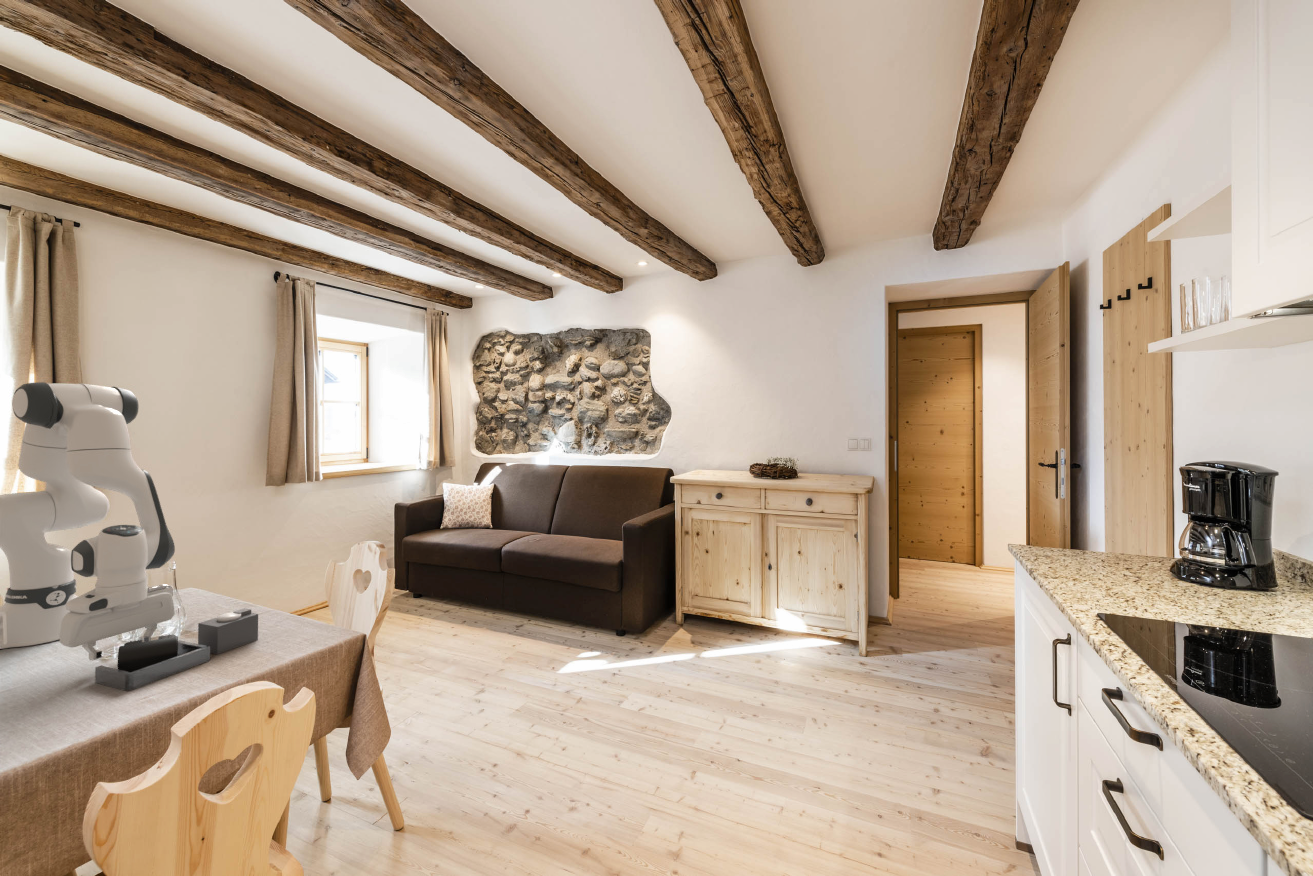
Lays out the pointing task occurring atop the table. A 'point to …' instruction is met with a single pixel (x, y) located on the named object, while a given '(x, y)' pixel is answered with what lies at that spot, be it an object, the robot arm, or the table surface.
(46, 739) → the table surface
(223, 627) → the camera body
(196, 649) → the tray
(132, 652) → the end cap
